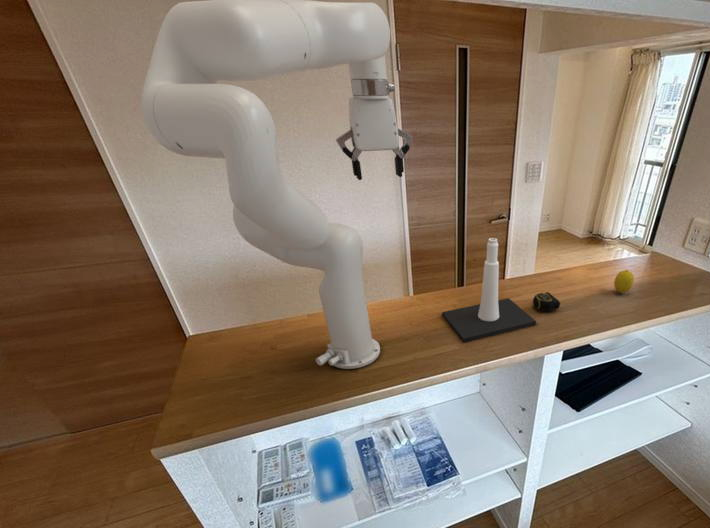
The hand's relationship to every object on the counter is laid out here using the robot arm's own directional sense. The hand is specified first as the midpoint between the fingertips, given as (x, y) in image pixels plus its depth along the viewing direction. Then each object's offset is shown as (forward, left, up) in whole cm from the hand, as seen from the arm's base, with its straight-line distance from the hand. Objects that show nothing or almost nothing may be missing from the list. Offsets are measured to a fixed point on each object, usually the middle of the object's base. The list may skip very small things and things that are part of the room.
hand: (379, 177), depth 88 cm
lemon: (+48, -54, -36) cm, 81 cm away
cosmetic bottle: (+10, -26, -35) cm, 45 cm away
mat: (+10, -26, -36) cm, 46 cm away
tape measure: (+26, -37, -36) cm, 58 cm away
